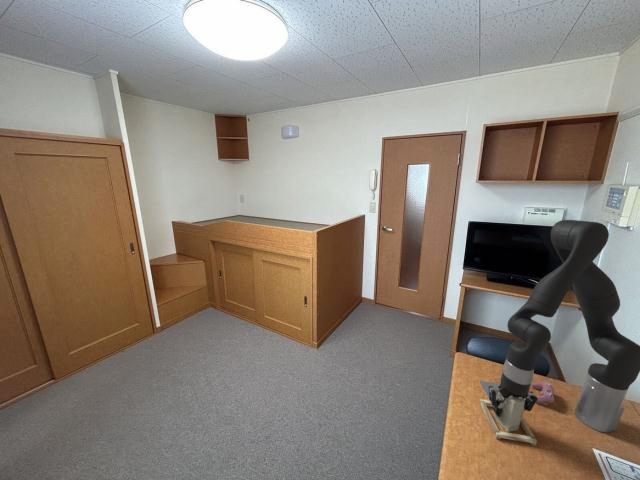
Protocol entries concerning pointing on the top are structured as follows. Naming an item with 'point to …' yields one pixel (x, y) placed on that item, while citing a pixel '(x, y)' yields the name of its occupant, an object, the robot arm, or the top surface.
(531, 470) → the top surface
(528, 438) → the wooden rectangular frame
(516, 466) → the top surface
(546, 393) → the video game controller
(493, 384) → the coaster
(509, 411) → the skincare box
